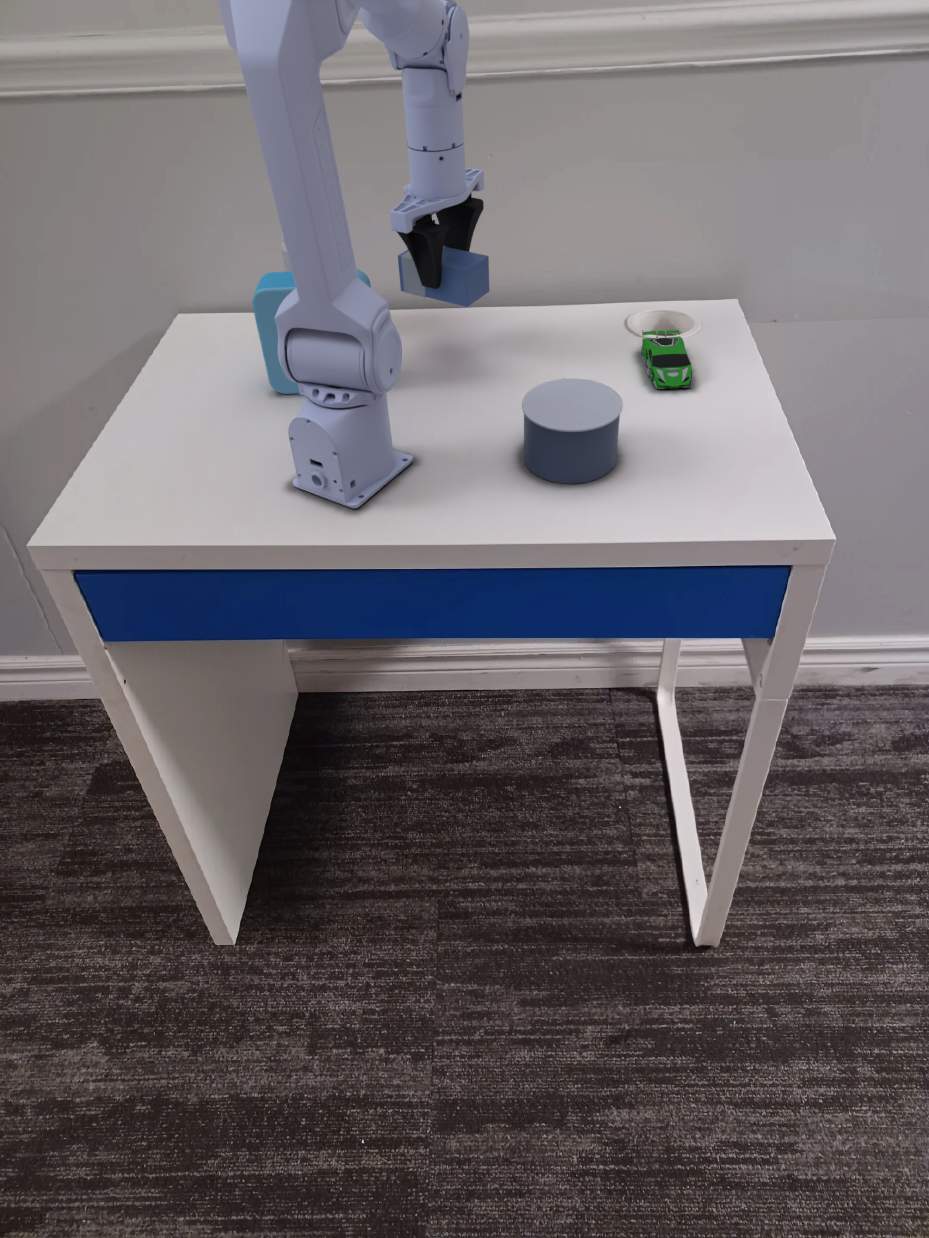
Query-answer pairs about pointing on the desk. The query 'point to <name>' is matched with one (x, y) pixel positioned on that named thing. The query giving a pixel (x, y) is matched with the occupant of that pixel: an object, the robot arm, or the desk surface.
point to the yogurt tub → (571, 430)
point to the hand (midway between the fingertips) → (444, 277)
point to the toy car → (666, 360)
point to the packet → (449, 277)
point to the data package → (265, 308)
